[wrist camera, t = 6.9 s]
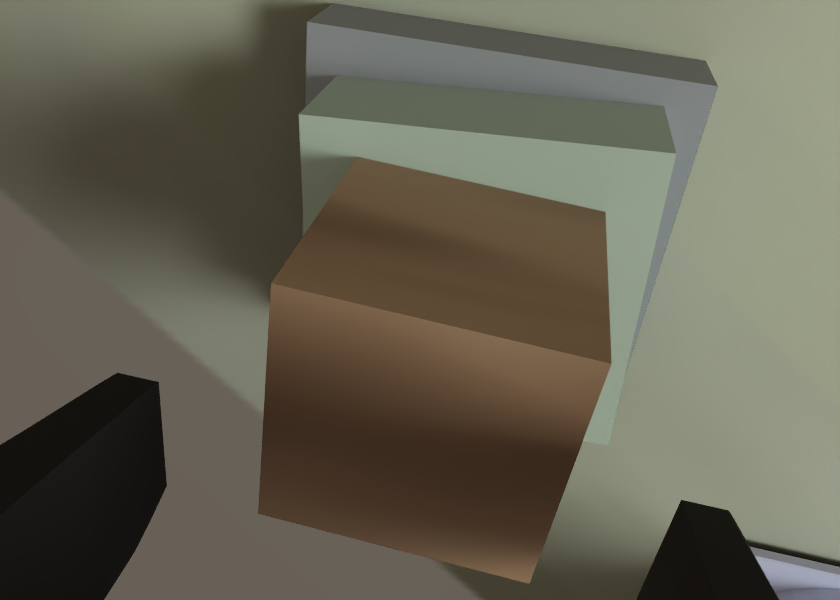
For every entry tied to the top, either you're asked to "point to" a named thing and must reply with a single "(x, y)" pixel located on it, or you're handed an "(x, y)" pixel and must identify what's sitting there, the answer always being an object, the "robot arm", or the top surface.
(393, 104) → the top tile
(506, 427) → the walnut cube
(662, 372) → the top surface
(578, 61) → the base tile
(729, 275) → the top surface
